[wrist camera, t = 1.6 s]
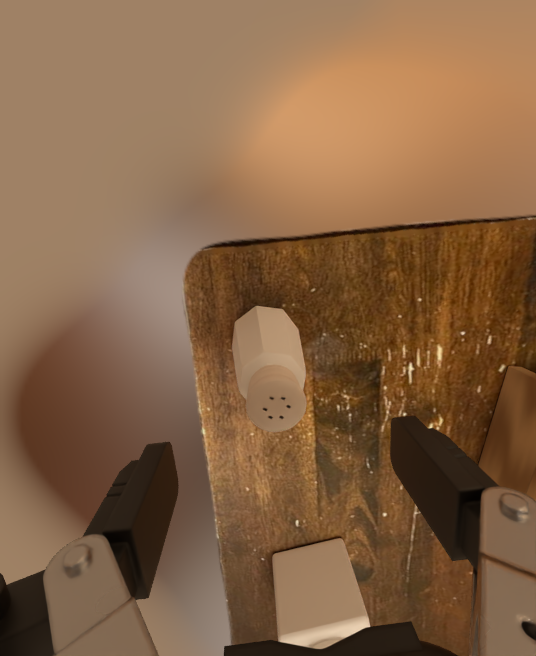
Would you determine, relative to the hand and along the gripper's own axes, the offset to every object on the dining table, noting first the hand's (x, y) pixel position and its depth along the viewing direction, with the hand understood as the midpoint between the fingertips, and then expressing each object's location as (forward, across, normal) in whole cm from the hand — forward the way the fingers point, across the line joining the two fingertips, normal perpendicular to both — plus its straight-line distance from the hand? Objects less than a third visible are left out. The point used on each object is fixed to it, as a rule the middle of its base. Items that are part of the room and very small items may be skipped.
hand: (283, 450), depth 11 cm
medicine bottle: (+14, -3, +25) cm, 29 cm away
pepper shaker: (+14, 0, 0) cm, 14 cm away
